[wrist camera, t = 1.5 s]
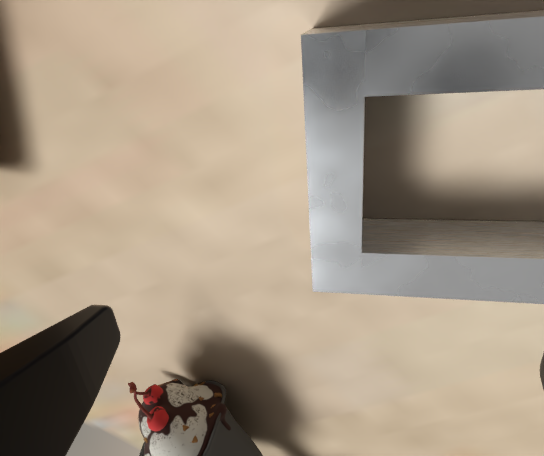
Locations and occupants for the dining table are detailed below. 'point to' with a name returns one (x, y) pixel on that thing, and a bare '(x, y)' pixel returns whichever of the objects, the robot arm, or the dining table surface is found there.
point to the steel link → (350, 157)
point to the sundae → (190, 422)
